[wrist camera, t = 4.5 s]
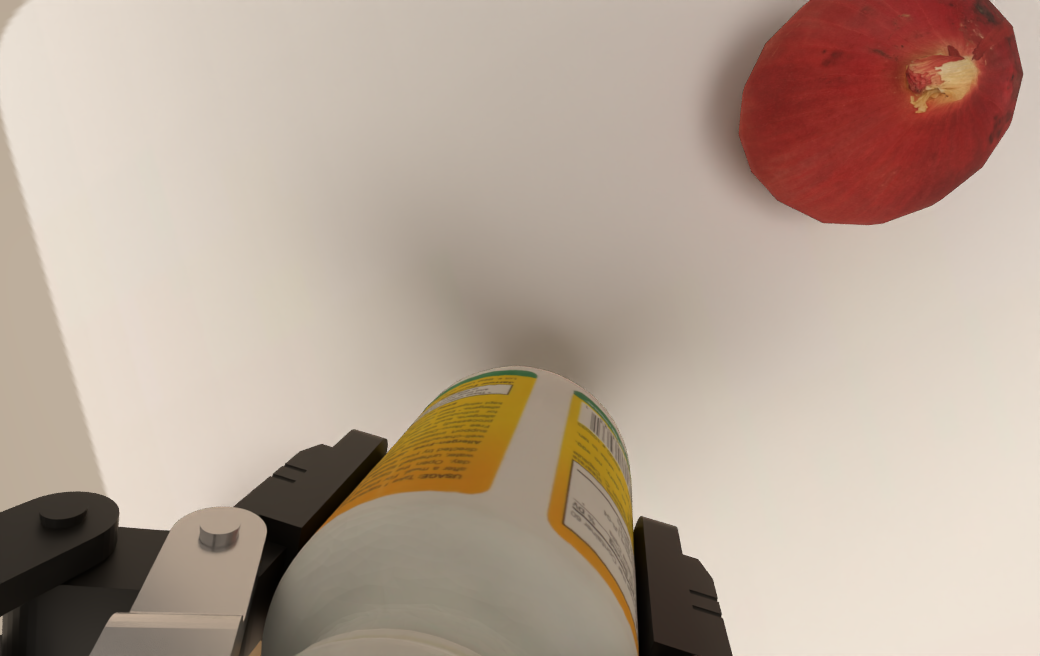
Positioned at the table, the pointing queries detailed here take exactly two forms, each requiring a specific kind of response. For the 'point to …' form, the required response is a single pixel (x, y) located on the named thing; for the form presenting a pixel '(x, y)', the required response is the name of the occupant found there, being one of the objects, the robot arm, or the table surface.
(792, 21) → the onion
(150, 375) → the table surface
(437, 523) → the supplement bottle
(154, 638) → the robot arm
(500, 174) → the table surface
